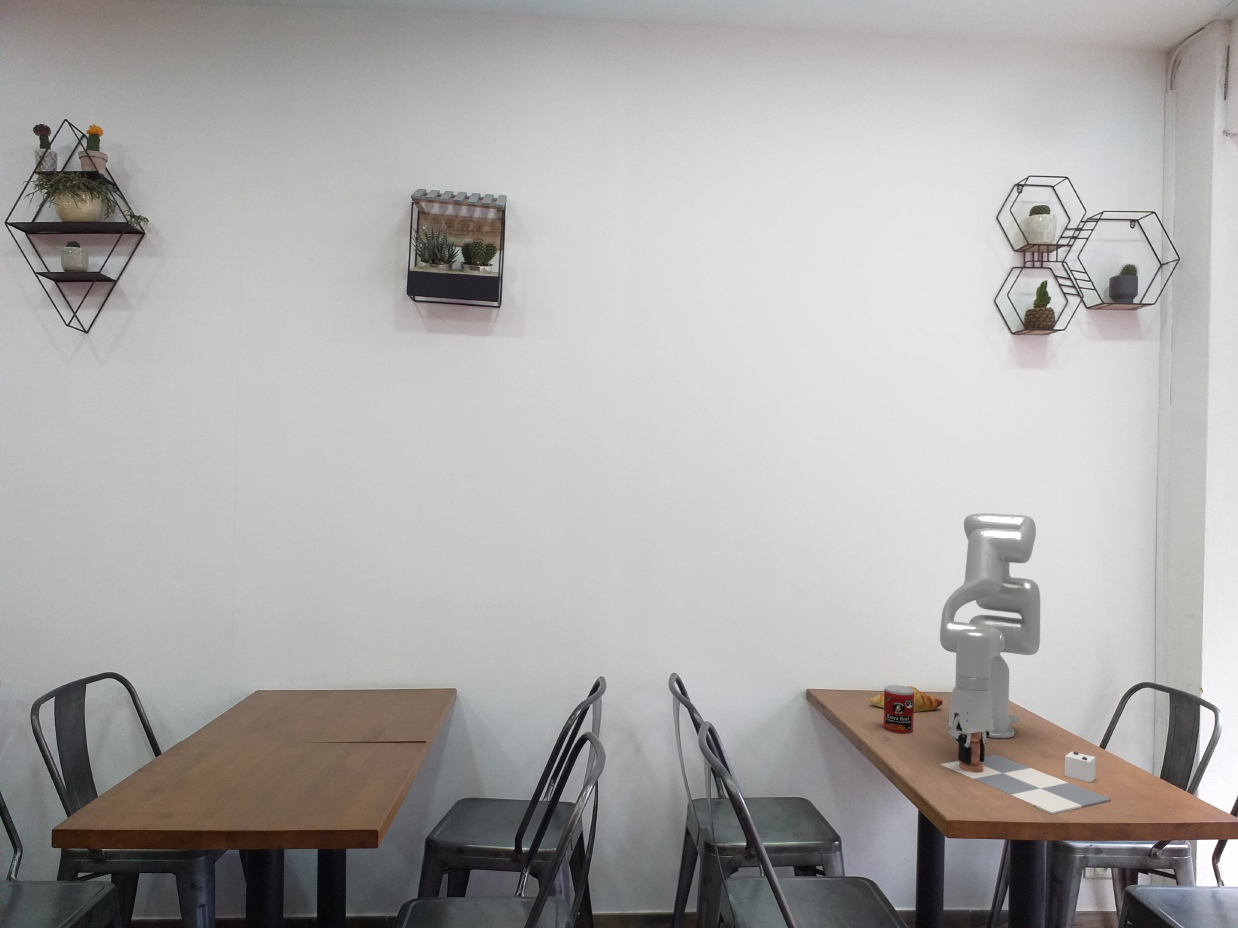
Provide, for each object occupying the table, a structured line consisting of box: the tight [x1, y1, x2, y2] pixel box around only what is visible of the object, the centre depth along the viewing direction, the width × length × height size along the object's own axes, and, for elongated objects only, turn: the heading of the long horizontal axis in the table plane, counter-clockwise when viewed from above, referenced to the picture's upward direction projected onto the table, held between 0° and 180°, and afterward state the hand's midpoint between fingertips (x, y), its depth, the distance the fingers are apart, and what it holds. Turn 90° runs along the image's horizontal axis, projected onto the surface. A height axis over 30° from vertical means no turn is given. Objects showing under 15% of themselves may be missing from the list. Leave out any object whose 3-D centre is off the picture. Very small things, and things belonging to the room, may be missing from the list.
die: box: [1064, 750, 1096, 783], centre depth 178 cm, size 5×5×6 cm
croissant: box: [869, 685, 944, 713], centre depth 231 cm, size 21×10×8 cm, turn 87°
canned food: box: [883, 684, 915, 734], centre depth 210 cm, size 8×8×11 cm
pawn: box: [958, 732, 983, 773], centre depth 181 cm, size 5×5×10 cm
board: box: [939, 754, 1112, 815], centre depth 174 cm, size 19×28×1 cm, turn 25°
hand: (971, 760), depth 181 cm, fingers closed on pawn, 3 cm apart
